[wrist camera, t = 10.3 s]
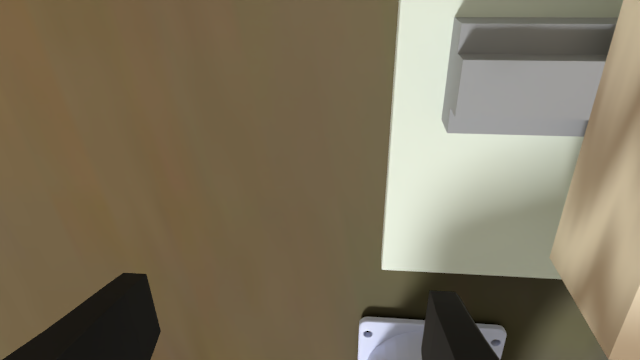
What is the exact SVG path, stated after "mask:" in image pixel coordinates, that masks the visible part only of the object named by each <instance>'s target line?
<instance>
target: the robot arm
mask: <svg viewBox="0 0 640 360" xmlns="http://www.w3.org/2000/svg"><path fill="white" fill-rule="evenodd" d="M365 331H371V332H365ZM160 332H161V331H160V327H159V323H158V319H157V315H156V311H155V307H154V303H153V299H152V295H151V291H150V287H149V283H148V279H147V275H146V274H135V273H123V274H121V275H120V276H119V277H117V278H116V279H114V280H113V281H111V282H110V283H109V284H107V285H106V286H105V287H103V288H102V289H101V290H99V291H98V292H96V293H95V294H94V295H92V296H91V297H90V298H88V299H87V300H86V301H84V302H83V303H82V304H80V305H79V306H78V307H76V308H75V309H74V310H72V311H71V312H70V313H68V314H67V315H65V316H64V317H63V318H61V319H60V320H59V321H57V322H56V323H55V324H53V325H52V326H51V327H49V328H48V329H46V330H45V331H44V332H42V333H41V334H39V335H38V336H36V337H35V338H33V339H32V340H30V341H29V342H27V343H26V344H25V345H23V346H22V347H20V348H19V349H17V350H16V351H14V352H13V353H11V354H10V355H8V356H7V357H5V358H4V359H3V360H150V359H151V356H152V354H153V351H154V348H155V346H156V343H157V340H158V337H159V334H160ZM506 336H507V334H506V331H505V329H504V327H502V326H501V325H493V324H477V323H475V322H474V320H473V319H472V317H471V316H470V314H469V312H468V311H467V309H466V307H465V306H464V304H463V302H462V300H461V299H460V297H459V296H458V295H457V293H456V292H447V291H430V290H429V297H428V304H427V311H426V318H425V320H414V319H399V318H383V317H364V318H362V319H361V320H360V322H359V342H358V360H500V359H501V355H502V352H503V348H504V344H505V340H506ZM495 339H497V340H495ZM493 340H494V341H493Z"/></svg>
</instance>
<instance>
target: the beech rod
mask: <svg viewBox="0 0 640 360" xmlns="http://www.w3.org/2000/svg"><path fill="white" fill-rule="evenodd" d="M549 258H550V260H551V261H552V263H553V265H554V266H555V268H556V270H557V272H558V273H559V275H560V277H561V279H562V280H563V282H564V284H565V285H566V287H567V289H568V291H569V292H570V294H571V296H572V297H573V299H574V301H575V303H576V304H577V306H578V308H579V310H580V311H581V313H582V315H583V316H584V318H585V320H586V322H587V323H588V325H589V327H590V329H591V330H592V332H593V334H594V335H595V337H596V339H597V341H598V342H599V344H600V346H601V348H602V349H603V351H604V353H605V354H606V356H607V358H608V359H613V360H640V0H623V3H622V6H621V10H620V13H619V17H618V20H617V24H616V27H615V31H614V34H613V38H612V41H611V45H610V48H609V52H608V55H607V58H606V62H605V65H604V69H603V72H602V76H601V79H600V83H599V86H598V90H597V93H596V97H595V100H594V104H593V107H592V111H591V114H590V118H589V121H588V125H587V128H586V132H585V135H584V139H583V142H582V146H581V149H580V153H579V156H578V159H577V163H576V166H575V170H574V173H573V177H572V180H571V184H570V187H569V191H568V194H567V198H566V201H565V205H564V208H563V212H562V215H561V219H560V222H559V226H558V229H557V233H556V236H555V240H554V243H553V247H552V250H551V254H550V257H549Z"/></svg>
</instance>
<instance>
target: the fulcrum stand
mask: <svg viewBox="0 0 640 360" xmlns="http://www.w3.org/2000/svg"><path fill="white" fill-rule="evenodd" d="M622 3H623V0H399V5H398V20H397V35H396V49H395V64H394V79H393V93H392V108H391V123H390V137H389V152H388V167H387V181H386V196H385V211H384V225H383V240H382V255H381V261H382V270H400V271H418V272H437V273H455V274H474V275H493V276H511V277H530V278H548V279H561V277H560V275H559V273H558V272H557V270H556V268H555V266H554V265H553V263H552V261H551V260H550V258H549V257H550V254H551V250H552V247H553V243H554V240H555V236H556V233H557V229H558V226H559V222H560V219H561V215H562V212H563V208H564V205H565V201H566V198H567V194H568V191H569V187H570V184H571V180H572V177H573V173H574V170H575V166H576V163H577V159H578V156H579V153H580V149H581V146H582V142H583V139H584V135H585V132H586V128H587V125H588V121H589V118H590V114H591V111H592V107H593V104H594V100H595V97H596V93H597V90H598V86H599V83H600V79H601V76H602V72H603V69H604V65H605V62H606V58H607V55H608V52H609V48H610V45H611V41H612V38H613V34H614V31H615V27H616V24H617V20H618V17H619V13H620V10H621V6H622Z"/></svg>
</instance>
